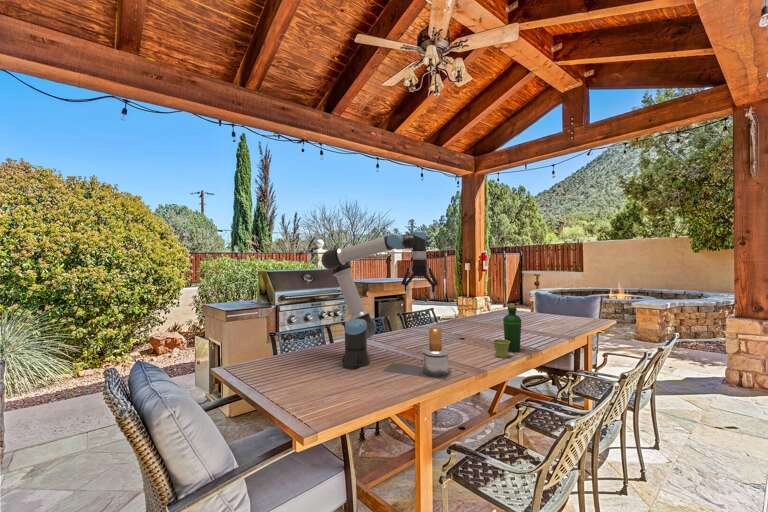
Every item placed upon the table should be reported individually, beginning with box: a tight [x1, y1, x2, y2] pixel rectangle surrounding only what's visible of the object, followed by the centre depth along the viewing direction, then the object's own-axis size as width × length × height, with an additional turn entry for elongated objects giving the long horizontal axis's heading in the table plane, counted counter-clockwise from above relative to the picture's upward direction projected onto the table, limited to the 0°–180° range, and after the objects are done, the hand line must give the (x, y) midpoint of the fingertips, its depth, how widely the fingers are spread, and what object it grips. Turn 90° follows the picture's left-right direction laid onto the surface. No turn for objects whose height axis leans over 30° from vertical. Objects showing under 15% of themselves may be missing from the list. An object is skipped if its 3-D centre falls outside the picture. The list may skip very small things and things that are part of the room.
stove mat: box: [381, 362, 453, 381], centre depth 172 cm, size 32×14×1 cm, turn 67°
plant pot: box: [492, 338, 510, 359], centre depth 199 cm, size 9×9×9 cm
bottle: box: [502, 303, 522, 353], centre depth 210 cm, size 11×11×28 cm
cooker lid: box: [421, 327, 450, 356], centre depth 168 cm, size 13×13×11 cm
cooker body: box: [422, 353, 449, 378], centre depth 168 cm, size 12×12×10 cm
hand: (419, 298), depth 190 cm, fingers open, 13 cm apart
